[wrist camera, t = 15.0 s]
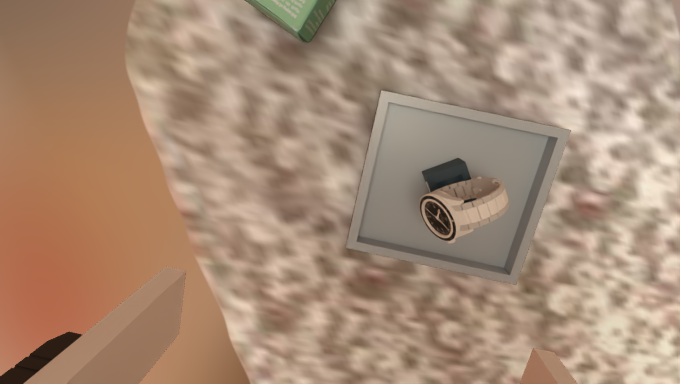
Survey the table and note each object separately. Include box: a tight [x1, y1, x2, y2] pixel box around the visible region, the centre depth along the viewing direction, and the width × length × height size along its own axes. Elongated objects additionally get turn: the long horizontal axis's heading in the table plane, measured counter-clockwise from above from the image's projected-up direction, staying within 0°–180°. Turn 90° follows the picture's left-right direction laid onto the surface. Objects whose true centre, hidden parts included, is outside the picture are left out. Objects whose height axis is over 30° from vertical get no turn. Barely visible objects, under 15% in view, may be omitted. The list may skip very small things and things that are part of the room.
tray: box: [346, 90, 571, 285], centre depth 42 cm, size 18×20×2 cm
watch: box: [419, 158, 510, 243], centre depth 37 cm, size 6×8×11 cm
